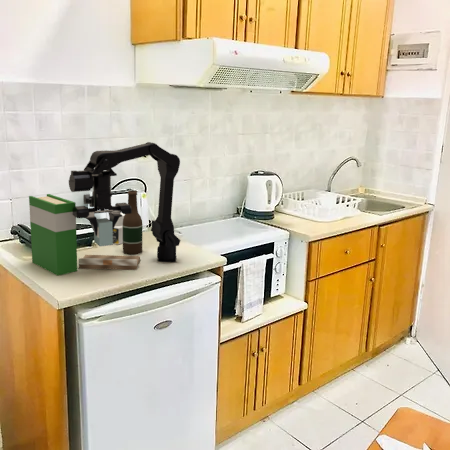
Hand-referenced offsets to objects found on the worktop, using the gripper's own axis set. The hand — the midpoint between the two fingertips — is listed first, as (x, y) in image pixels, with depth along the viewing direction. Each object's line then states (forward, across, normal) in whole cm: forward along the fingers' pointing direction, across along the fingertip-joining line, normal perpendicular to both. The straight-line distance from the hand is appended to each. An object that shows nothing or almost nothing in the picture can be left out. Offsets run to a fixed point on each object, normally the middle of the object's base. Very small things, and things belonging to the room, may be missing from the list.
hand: (103, 234), depth 173 cm
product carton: (+3, 0, 0) cm, 3 cm away
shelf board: (+13, -4, -5) cm, 14 cm away
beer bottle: (+13, -16, -16) cm, 26 cm away
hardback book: (+13, +14, -10) cm, 22 cm away
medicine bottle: (+13, -16, -32) cm, 38 cm away
